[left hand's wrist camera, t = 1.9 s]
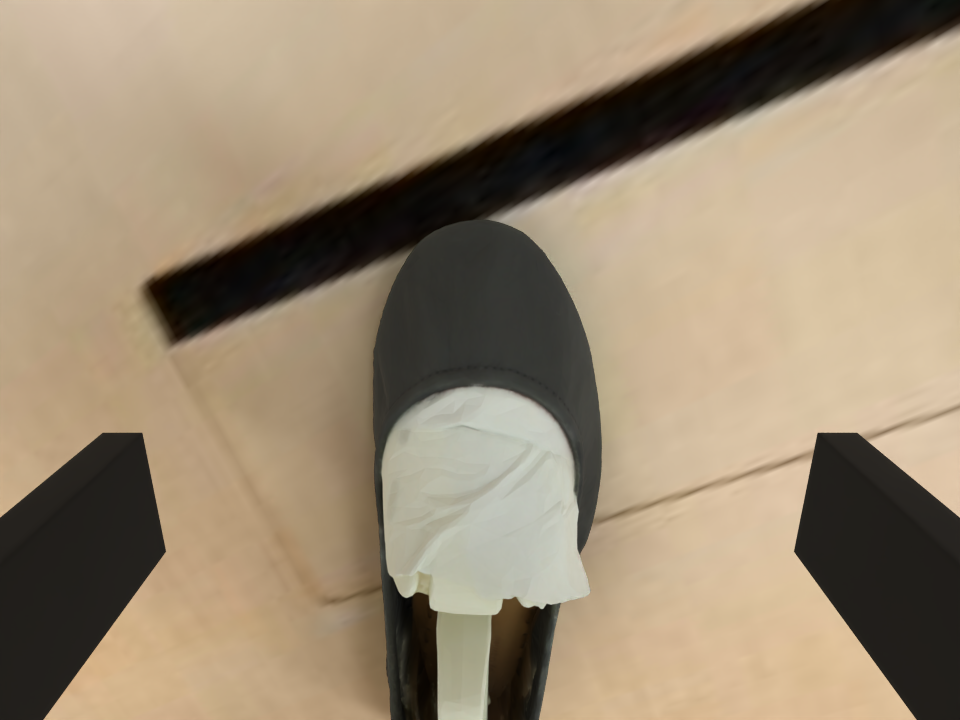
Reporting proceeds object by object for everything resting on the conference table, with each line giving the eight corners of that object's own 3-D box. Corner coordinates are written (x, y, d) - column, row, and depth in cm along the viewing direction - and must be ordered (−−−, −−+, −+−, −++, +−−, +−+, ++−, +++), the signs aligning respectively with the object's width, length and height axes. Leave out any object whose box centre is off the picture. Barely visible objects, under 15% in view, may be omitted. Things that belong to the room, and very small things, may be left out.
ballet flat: (607, 213, 22) (670, 265, 15) (571, 729, 31) (600, 933, 23) (369, 213, 22) (308, 264, 15) (399, 727, 31) (370, 931, 23)
